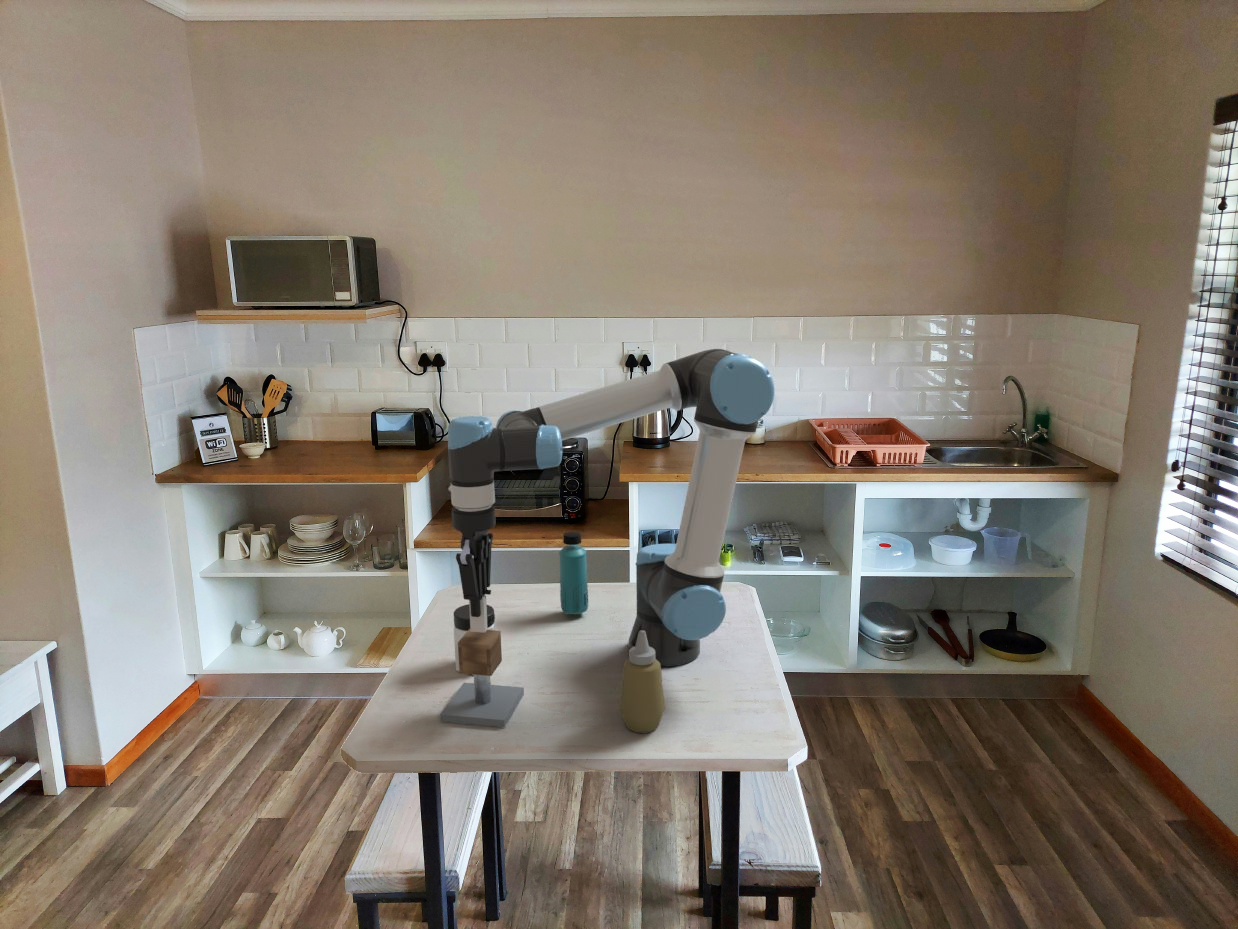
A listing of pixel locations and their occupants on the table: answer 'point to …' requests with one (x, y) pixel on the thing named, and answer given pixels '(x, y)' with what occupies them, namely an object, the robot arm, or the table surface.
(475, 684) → the post
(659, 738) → the table surface
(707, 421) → the robot arm
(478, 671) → the brown wooden cube
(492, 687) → the base plate
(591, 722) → the table surface
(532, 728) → the table surface
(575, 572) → the beverage bottle
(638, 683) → the squeeze bottle
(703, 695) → the table surface
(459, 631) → the jar
